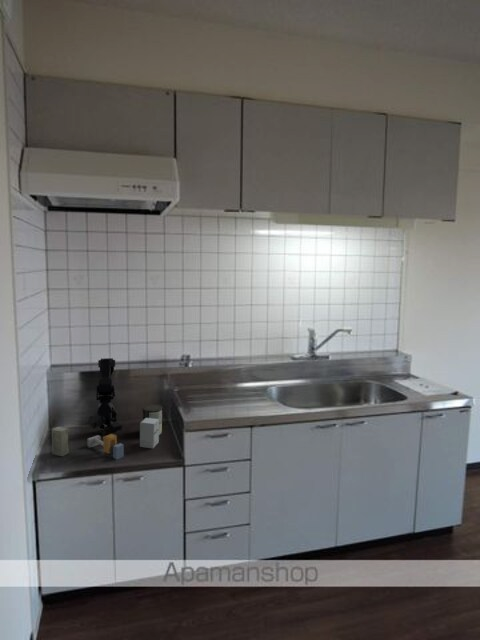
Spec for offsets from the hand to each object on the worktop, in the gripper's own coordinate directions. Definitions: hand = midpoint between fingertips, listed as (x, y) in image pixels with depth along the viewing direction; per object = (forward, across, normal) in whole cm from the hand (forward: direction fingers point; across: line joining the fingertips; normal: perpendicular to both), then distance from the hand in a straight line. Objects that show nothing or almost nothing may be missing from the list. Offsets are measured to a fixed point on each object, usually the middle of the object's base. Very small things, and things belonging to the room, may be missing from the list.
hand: (105, 439), depth 221 cm
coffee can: (+6, -2, +30) cm, 31 cm away
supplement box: (+6, +9, +19) cm, 22 cm away
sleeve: (+4, +4, 0) cm, 6 cm away
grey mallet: (+6, 0, 0) cm, 6 cm away
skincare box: (+6, -12, -16) cm, 21 cm away
